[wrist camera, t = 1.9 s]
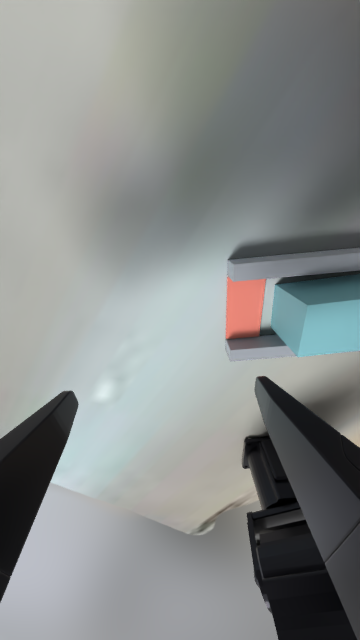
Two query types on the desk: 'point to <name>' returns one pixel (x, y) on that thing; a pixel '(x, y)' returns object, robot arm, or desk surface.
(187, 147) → the desk surface
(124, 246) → the desk surface
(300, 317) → the teal block
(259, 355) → the channel
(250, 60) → the desk surface
